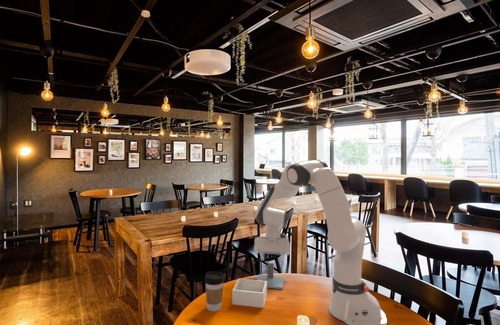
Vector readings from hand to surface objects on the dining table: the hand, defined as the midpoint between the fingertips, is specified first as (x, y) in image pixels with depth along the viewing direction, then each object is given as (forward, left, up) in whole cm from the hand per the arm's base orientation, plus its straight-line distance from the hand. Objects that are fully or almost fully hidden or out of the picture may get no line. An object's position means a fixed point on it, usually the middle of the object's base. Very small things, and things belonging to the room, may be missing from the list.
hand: (270, 260), depth 145 cm
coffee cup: (+21, +34, -10) cm, 42 cm away
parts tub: (+7, +24, -10) cm, 27 cm away
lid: (0, +6, -9) cm, 11 cm away
